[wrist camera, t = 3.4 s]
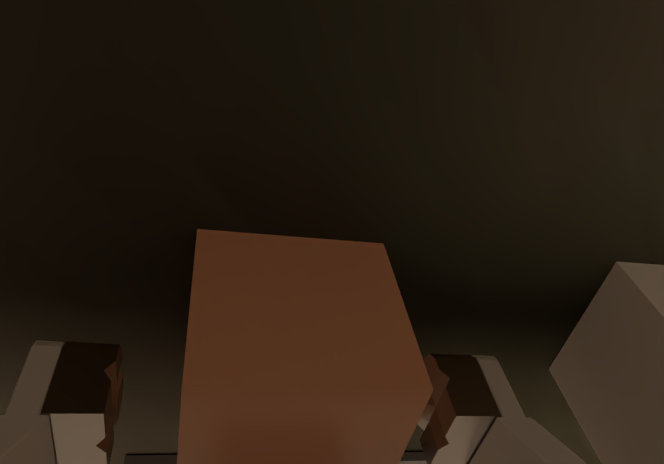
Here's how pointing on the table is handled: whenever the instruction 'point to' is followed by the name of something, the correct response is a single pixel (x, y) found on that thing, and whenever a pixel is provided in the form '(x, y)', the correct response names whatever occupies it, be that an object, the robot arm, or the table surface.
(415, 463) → the mat
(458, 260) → the table surface
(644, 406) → the grey cube
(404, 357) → the terracotta cube
